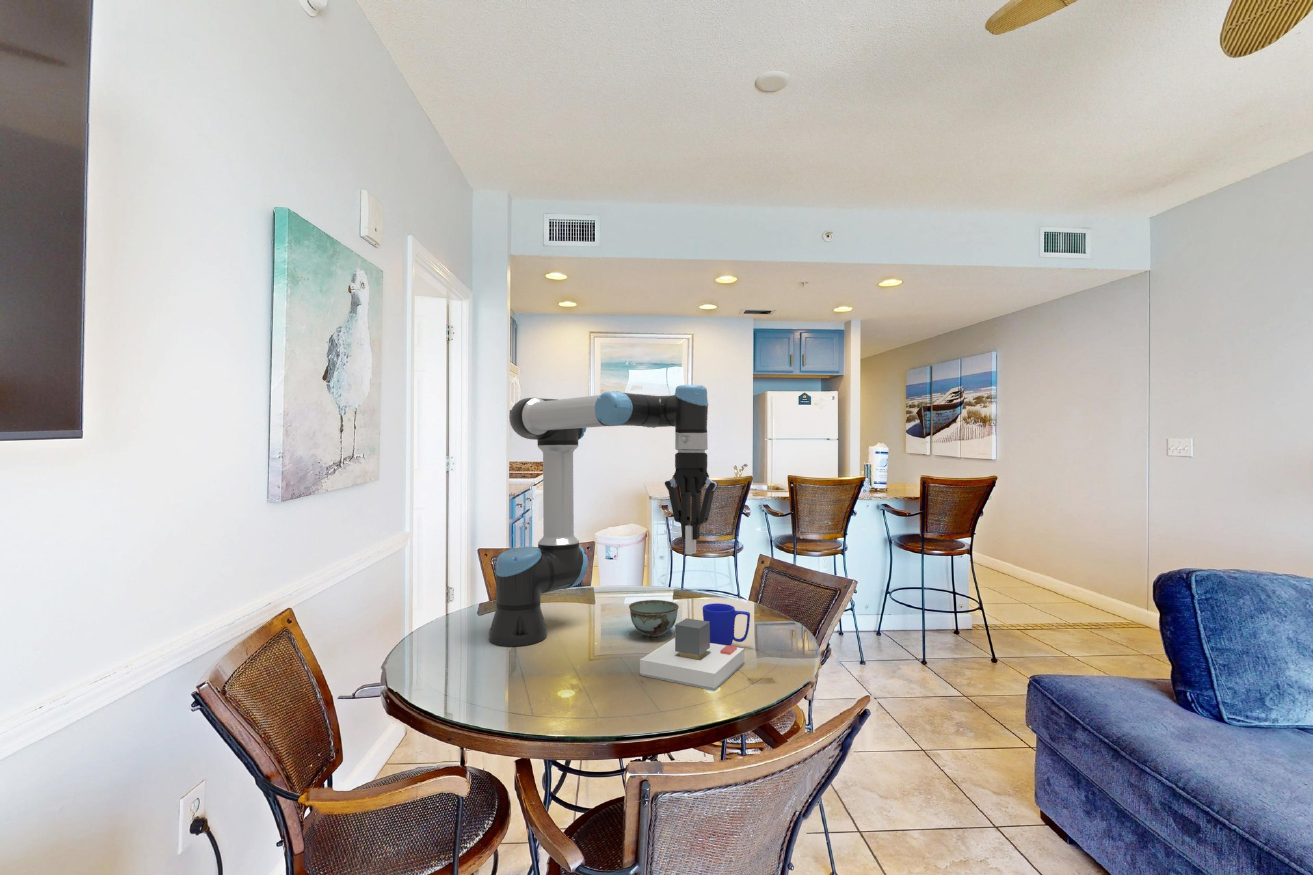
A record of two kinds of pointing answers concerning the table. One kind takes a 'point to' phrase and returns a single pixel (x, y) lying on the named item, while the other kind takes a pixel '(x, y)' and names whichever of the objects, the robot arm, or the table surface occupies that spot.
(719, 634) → the mug
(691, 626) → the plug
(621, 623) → the table surface
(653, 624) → the bowl
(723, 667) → the socket plate
